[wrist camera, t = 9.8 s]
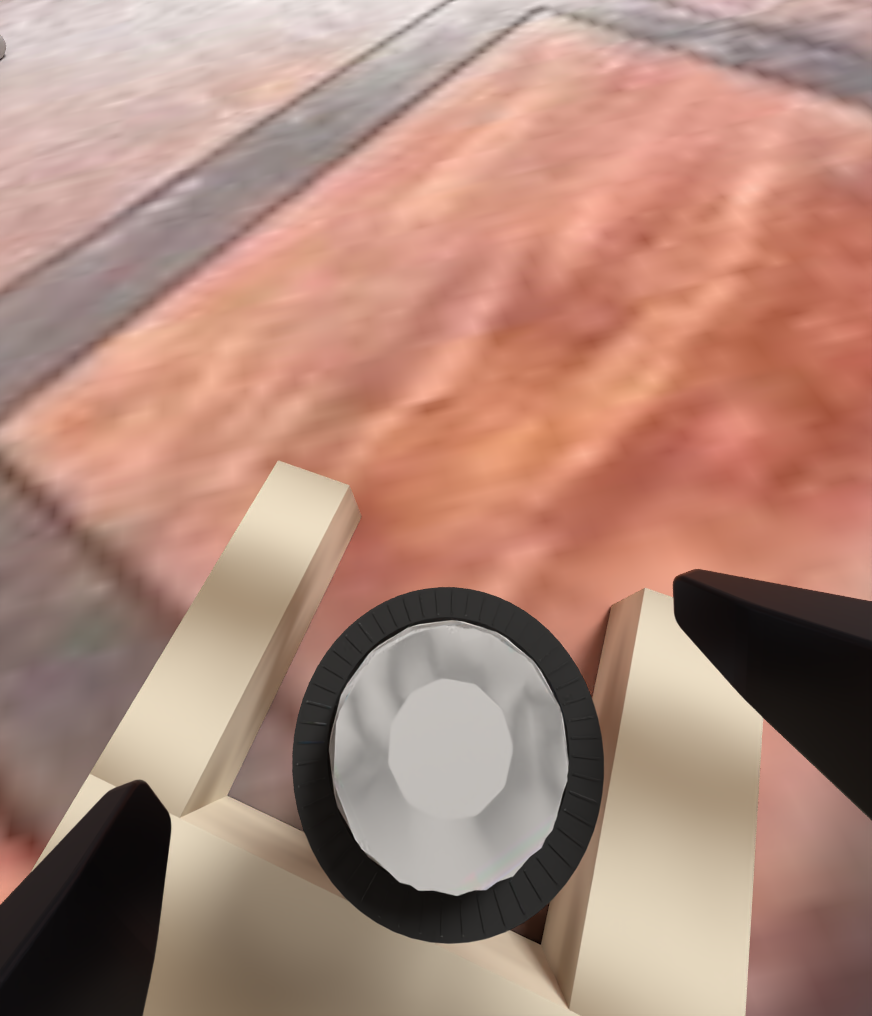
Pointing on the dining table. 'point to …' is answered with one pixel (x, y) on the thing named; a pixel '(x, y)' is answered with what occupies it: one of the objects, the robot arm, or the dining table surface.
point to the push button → (448, 765)
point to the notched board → (342, 927)
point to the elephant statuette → (2, 47)
